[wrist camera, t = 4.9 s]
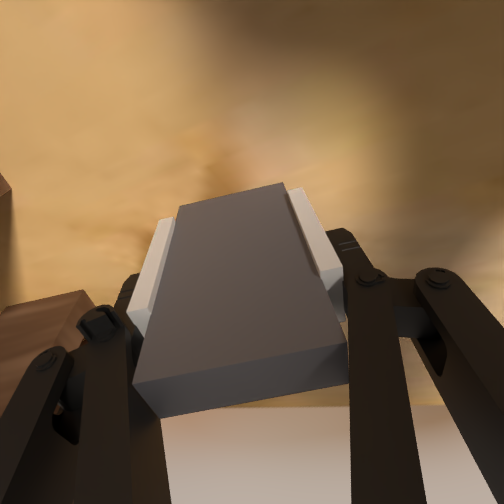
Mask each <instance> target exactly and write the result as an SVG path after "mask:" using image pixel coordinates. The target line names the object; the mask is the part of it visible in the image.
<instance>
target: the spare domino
mask: <svg viewBox="0 0 504 504" xmlns="http://www.w3.org/2000/svg"><path fill="white" fill-rule="evenodd" d="M348 383H349V367H348V347H347V340H346V338H345V335H344V333H343V330H342V328H341V325H340V323H339V320H338V318H337V315H336V313H335V310H334V308H333V305H332V303H331V300H330V298H329V295H328V293H327V291H326V288H325V286H324V283H323V281H322V279H321V278H320V276H319V273H318V271H317V268H316V266H315V263H314V261H313V258H312V255H311V253H310V250H309V248H308V245H307V243H306V240H305V238H304V235H303V233H302V230H301V228H300V225H299V223H298V220H297V218H296V215H295V213H294V210H293V208H292V205H291V203H290V200H289V198H288V194H287V191H286V189H285V186H284V184H283V182H282V183H277V184H273V185H269V186H264V187H260V188H256V189H251V190H247V191H243V192H238V193H234V194H230V195H225V196H221V197H217V198H212V199H208V200H204V201H199V202H195V203H191V204H186V205H182V206H180V207H179V210H178V214H177V218H176V224H175V227H174V231H173V235H172V239H171V242H170V246H169V250H168V254H167V257H166V261H165V265H164V269H163V272H162V276H161V280H160V284H159V287H158V291H157V295H156V299H155V302H154V306H153V310H152V314H151V315H150V318H149V322H148V326H147V330H146V333H145V337H144V341H143V344H142V348H141V352H140V356H139V359H138V363H137V367H136V370H135V374H134V378H133V382H132V385H133V386H134V388H135V389H136V390H137V391H138V393H139V394H140V395H141V396H142V398H143V399H144V400H145V401H146V403H147V404H148V405H149V406H150V408H151V409H152V410H153V411H154V413H155V414H156V415H157V416H158V418H159V419H161V418H167V417H172V416H178V415H183V414H188V413H193V412H199V411H204V410H209V409H215V408H220V407H226V406H231V405H236V404H242V403H247V402H252V401H258V400H263V399H268V398H274V397H279V396H284V395H290V394H295V393H300V392H306V391H311V390H316V389H322V388H327V387H332V386H338V385H343V384H348Z"/></svg>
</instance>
